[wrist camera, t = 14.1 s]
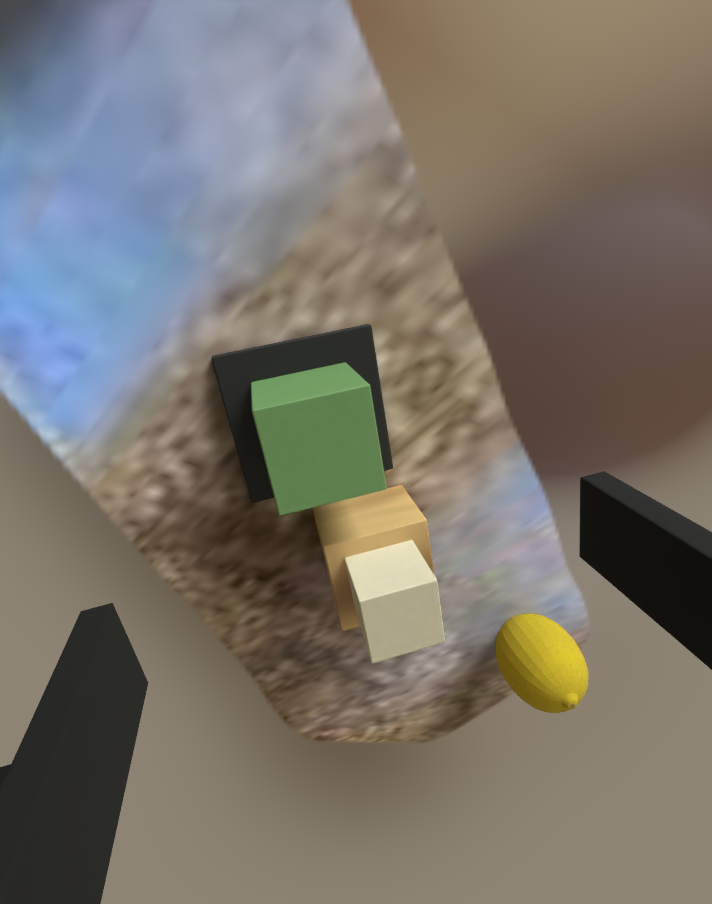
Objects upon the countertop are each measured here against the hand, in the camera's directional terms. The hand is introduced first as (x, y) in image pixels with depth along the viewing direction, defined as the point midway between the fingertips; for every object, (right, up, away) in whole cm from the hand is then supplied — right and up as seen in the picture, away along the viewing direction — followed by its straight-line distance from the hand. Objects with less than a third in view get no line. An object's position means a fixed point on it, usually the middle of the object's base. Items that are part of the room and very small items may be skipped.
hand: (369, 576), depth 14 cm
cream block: (+1, -4, +15) cm, 15 cm away
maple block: (0, -2, +19) cm, 19 cm away
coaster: (-3, +6, +16) cm, 17 cm away
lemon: (+12, -10, +25) cm, 29 cm away
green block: (-3, +5, +15) cm, 17 cm away
